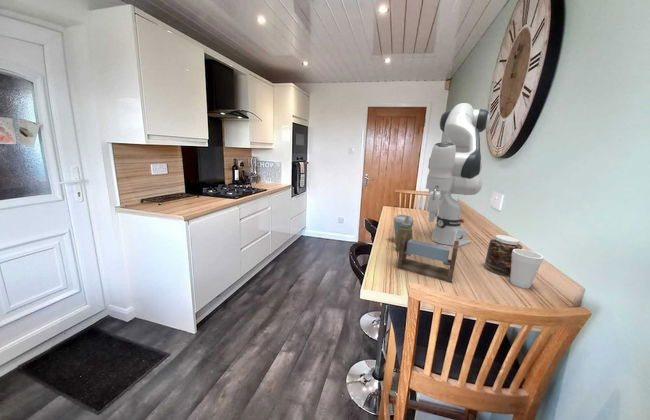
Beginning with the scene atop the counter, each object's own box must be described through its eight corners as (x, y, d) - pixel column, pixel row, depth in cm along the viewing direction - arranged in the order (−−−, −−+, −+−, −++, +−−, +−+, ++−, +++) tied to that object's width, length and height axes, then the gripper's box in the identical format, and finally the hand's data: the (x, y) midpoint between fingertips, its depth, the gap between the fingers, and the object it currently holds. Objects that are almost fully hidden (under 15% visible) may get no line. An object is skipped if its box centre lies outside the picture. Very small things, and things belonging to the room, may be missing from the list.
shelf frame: (453, 272, 105) (458, 241, 102) (451, 282, 97) (457, 249, 94) (402, 260, 115) (406, 231, 112) (396, 268, 107) (400, 237, 104)
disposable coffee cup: (414, 246, 135) (418, 219, 131) (395, 246, 133) (398, 218, 130) (405, 239, 145) (408, 214, 141) (387, 239, 143) (390, 213, 140)
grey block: (448, 258, 103) (450, 247, 102) (447, 262, 99) (449, 250, 98) (408, 249, 110) (409, 239, 109) (406, 253, 107) (407, 242, 105)
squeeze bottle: (410, 248, 130) (415, 215, 126) (411, 254, 122) (416, 219, 118) (394, 246, 132) (398, 213, 128) (394, 252, 124) (399, 217, 120)
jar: (515, 269, 112) (522, 237, 109) (517, 279, 103) (525, 245, 99) (484, 262, 119) (490, 232, 115) (483, 270, 109) (490, 238, 106)
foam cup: (509, 276, 105) (516, 247, 102) (537, 285, 99) (545, 254, 96) (502, 282, 99) (510, 252, 96) (532, 293, 93) (540, 260, 90)
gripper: (444, 188, 88) (438, 226, 91) (449, 183, 105) (443, 215, 108) (425, 186, 90) (420, 223, 94) (432, 182, 108) (428, 213, 111)
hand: (432, 219), depth 101 cm, fingers open, 8 cm apart
